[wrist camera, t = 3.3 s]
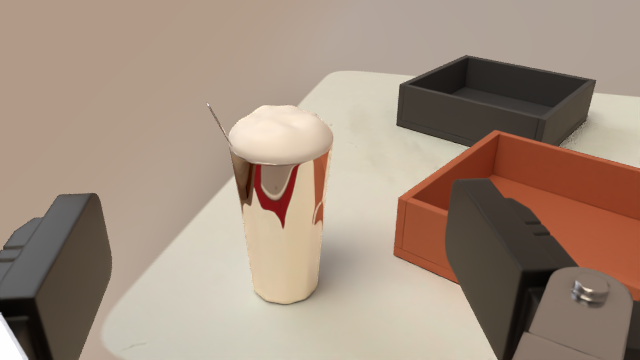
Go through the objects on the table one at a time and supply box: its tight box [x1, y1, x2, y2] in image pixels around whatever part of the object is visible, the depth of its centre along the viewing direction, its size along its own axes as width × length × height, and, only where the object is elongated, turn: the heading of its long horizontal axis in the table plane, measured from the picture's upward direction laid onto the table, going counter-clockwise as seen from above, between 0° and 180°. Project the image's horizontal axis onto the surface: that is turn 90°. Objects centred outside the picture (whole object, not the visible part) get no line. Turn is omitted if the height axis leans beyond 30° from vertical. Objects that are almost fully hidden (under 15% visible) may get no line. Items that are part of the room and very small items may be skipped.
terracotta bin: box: [394, 130, 640, 301], centre depth 30 cm, size 12×12×4 cm
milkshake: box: [206, 102, 333, 304], centre depth 25 cm, size 4×5×10 cm
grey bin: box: [396, 55, 596, 147], centre depth 46 cm, size 12×12×4 cm
